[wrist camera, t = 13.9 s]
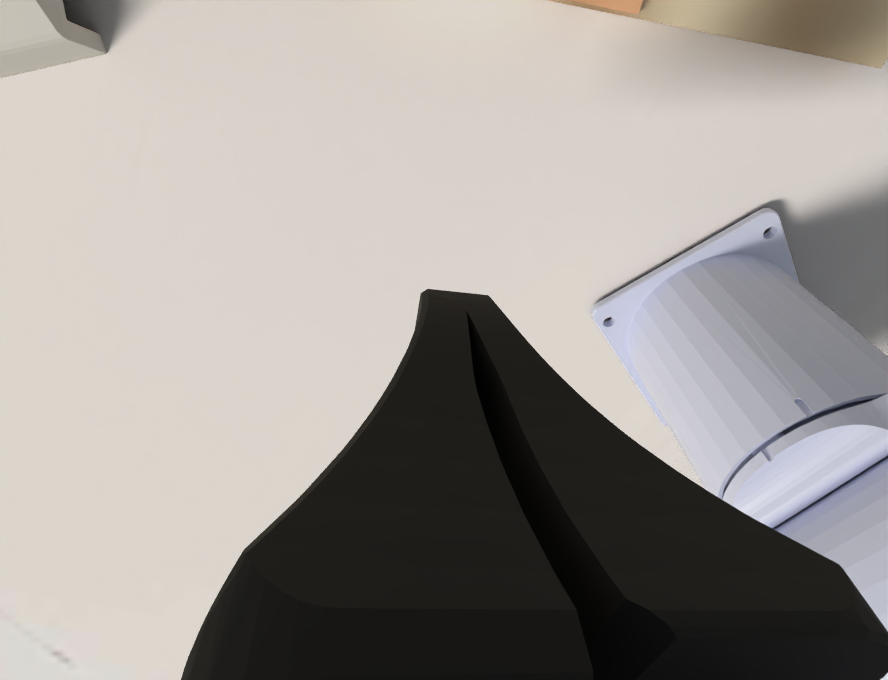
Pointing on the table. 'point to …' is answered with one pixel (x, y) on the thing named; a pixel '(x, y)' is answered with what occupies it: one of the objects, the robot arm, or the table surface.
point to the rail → (773, 23)
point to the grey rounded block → (41, 37)
